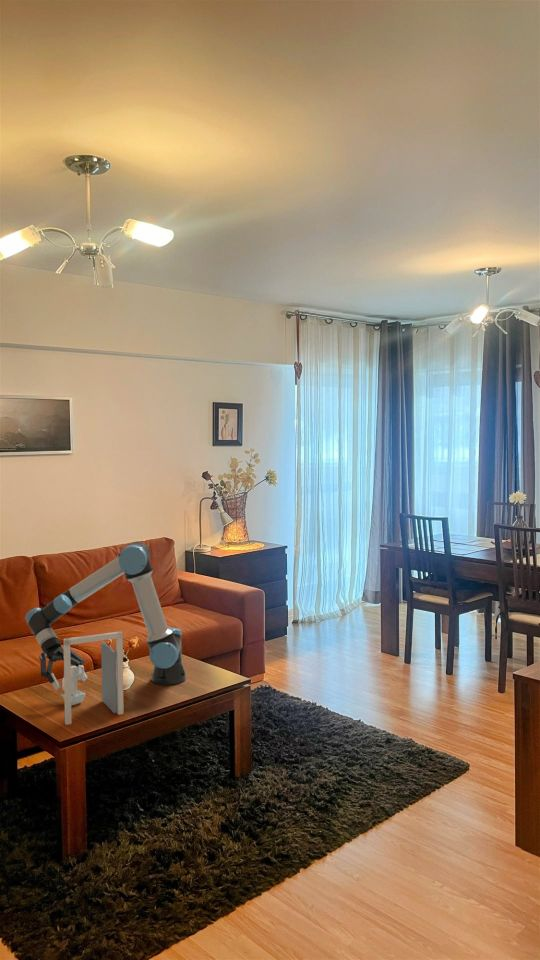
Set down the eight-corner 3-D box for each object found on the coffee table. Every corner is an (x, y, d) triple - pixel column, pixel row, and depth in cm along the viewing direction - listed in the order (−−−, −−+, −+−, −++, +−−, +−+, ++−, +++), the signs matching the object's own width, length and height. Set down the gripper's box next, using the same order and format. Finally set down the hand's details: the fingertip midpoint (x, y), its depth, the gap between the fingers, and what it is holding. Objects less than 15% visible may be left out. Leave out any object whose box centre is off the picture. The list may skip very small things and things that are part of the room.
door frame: (122, 712, 271) (120, 631, 270) (123, 713, 269) (122, 632, 268) (64, 723, 260) (63, 638, 259) (66, 724, 259) (64, 640, 257)
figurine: (58, 703, 281) (57, 667, 280) (78, 697, 288) (78, 661, 287) (68, 708, 276) (67, 670, 275) (88, 701, 283) (88, 665, 282)
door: (120, 711, 270) (119, 651, 269) (113, 713, 269) (112, 652, 268) (108, 699, 284) (107, 641, 284) (102, 700, 283) (101, 642, 282)
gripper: (69, 640, 301) (92, 681, 293) (18, 653, 281) (41, 697, 273) (76, 630, 298) (100, 670, 290) (26, 643, 278) (50, 687, 270)
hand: (72, 684), depth 281 cm, fingers open, 13 cm apart
